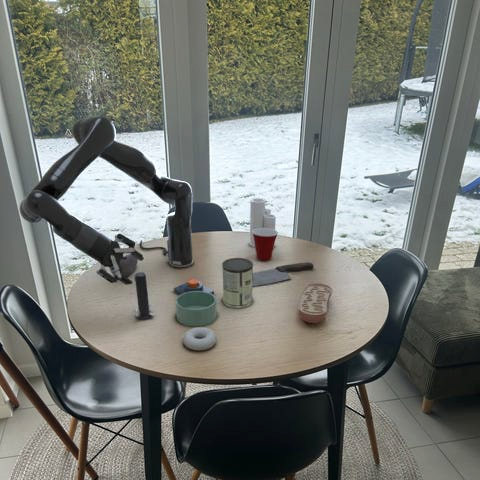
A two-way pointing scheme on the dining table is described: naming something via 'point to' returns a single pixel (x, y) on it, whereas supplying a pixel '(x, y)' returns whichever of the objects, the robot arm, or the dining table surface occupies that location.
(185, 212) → the robot arm
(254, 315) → the dining table surface
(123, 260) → the perforated stone tool
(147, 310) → the food processor blade
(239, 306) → the coffee can
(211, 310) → the processor bowl
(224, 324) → the dining table surface
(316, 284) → the anatomical model
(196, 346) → the donut
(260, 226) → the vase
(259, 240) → the plastic cup
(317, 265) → the dining table surface
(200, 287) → the control block
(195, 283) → the button
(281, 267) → the cleaver
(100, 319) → the dining table surface
